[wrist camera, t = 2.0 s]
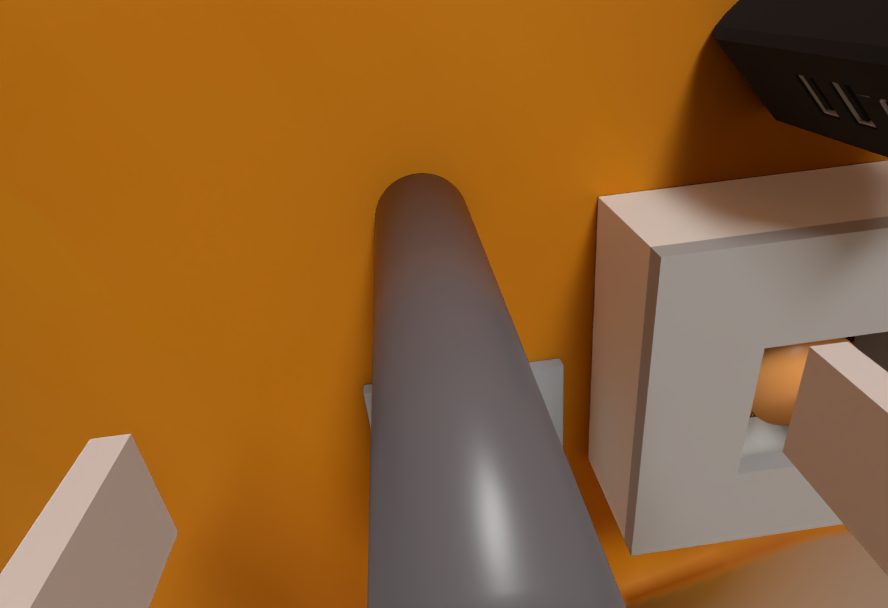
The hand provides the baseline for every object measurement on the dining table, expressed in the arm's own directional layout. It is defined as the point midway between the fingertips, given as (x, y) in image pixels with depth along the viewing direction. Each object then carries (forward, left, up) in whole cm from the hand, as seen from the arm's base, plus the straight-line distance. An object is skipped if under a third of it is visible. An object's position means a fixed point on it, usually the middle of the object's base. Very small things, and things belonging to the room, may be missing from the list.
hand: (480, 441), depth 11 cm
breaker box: (+14, -7, -13) cm, 20 cm away
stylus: (0, 0, -13) cm, 13 cm away
